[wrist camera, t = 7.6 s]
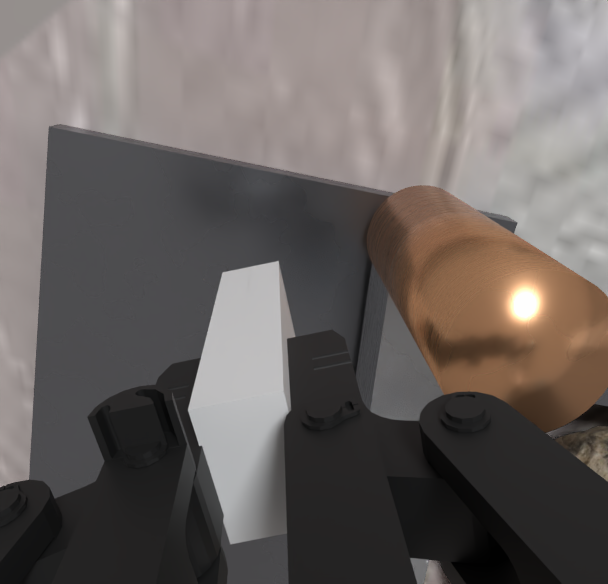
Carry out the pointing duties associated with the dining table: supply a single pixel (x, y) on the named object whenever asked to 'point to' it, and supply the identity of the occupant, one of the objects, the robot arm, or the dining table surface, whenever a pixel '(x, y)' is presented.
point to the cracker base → (176, 283)
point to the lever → (474, 317)
